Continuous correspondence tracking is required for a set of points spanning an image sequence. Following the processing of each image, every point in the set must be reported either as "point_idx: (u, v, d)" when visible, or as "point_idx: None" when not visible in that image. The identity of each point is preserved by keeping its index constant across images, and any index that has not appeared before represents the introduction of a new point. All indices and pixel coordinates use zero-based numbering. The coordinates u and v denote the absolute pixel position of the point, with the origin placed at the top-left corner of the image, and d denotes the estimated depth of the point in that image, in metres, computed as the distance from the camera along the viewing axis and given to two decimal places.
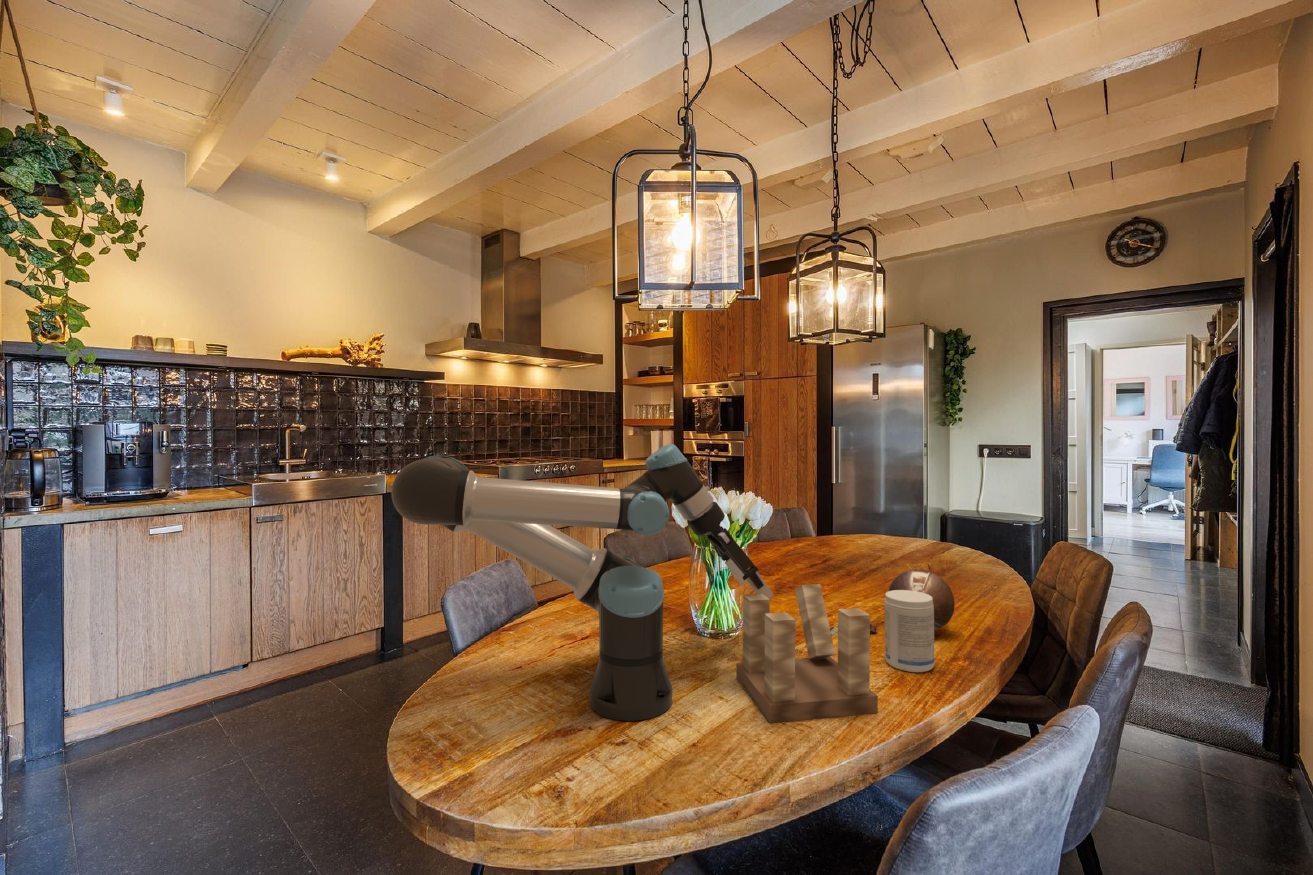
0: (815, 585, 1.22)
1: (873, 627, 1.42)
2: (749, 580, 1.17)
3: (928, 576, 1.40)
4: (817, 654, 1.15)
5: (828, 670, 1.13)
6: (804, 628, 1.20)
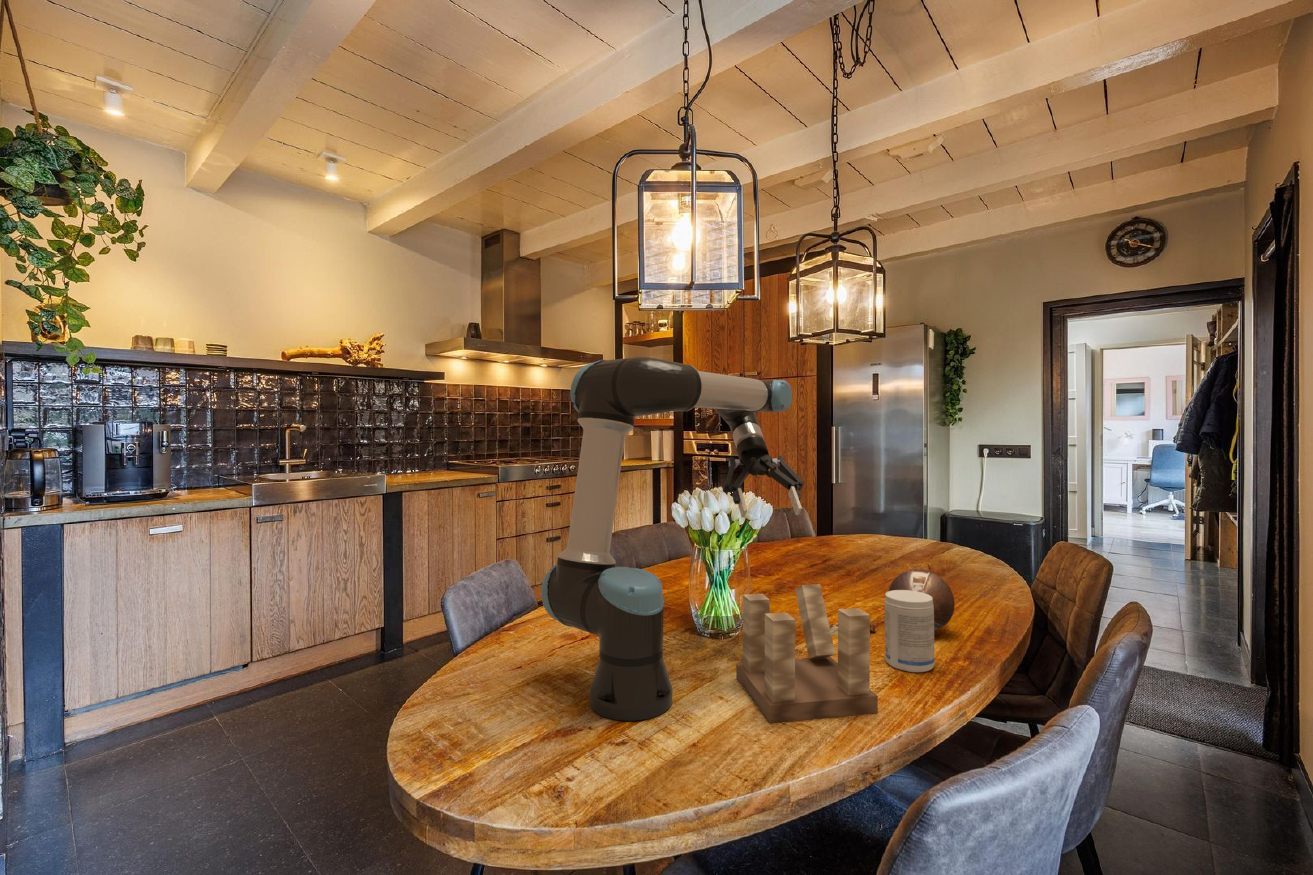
0: (815, 585, 1.22)
1: (872, 626, 1.43)
2: None
3: (928, 576, 1.40)
4: (817, 654, 1.15)
5: (828, 670, 1.13)
6: (804, 628, 1.20)
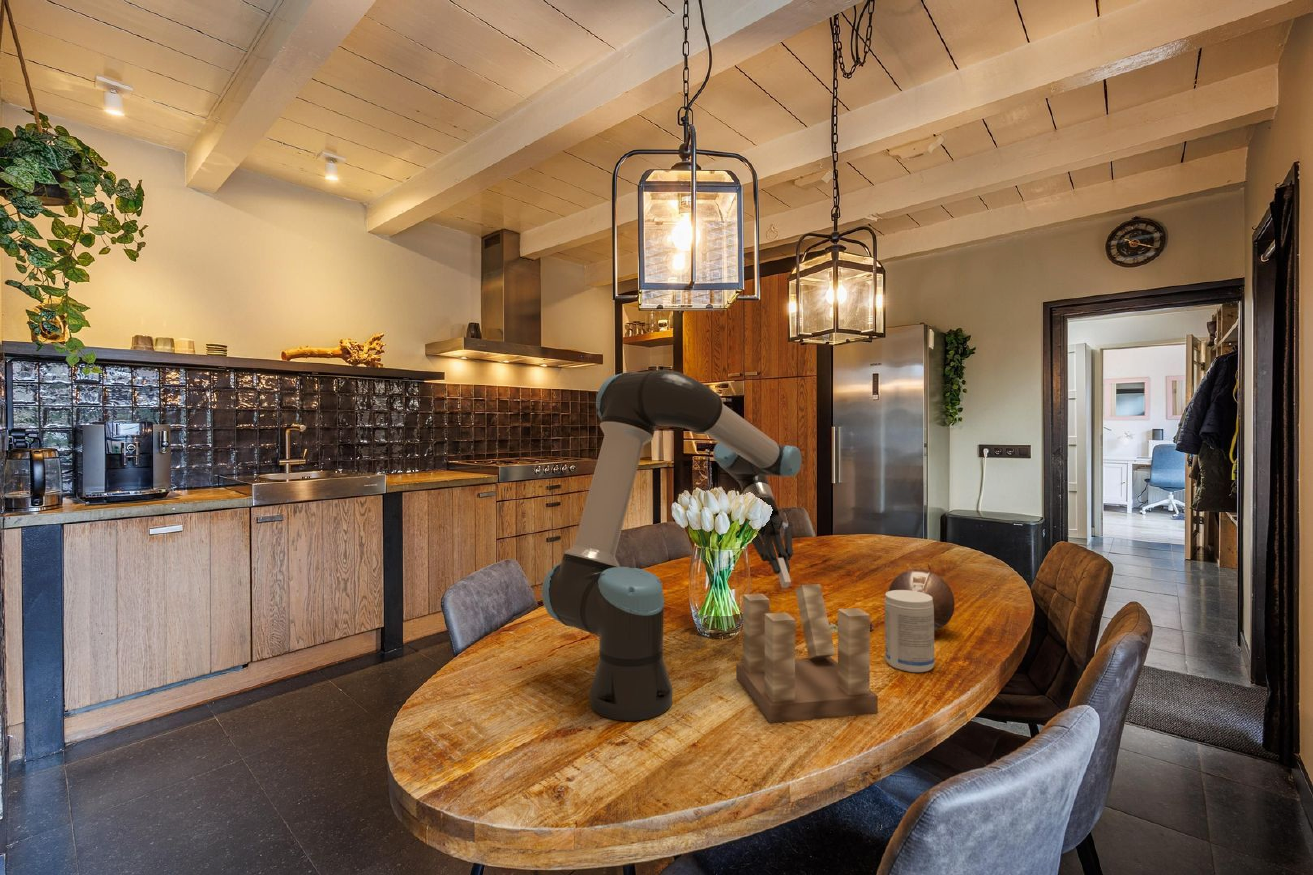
0: (815, 585, 1.22)
1: None
2: None
3: (928, 576, 1.40)
4: (817, 654, 1.15)
5: (828, 670, 1.13)
6: (804, 628, 1.20)
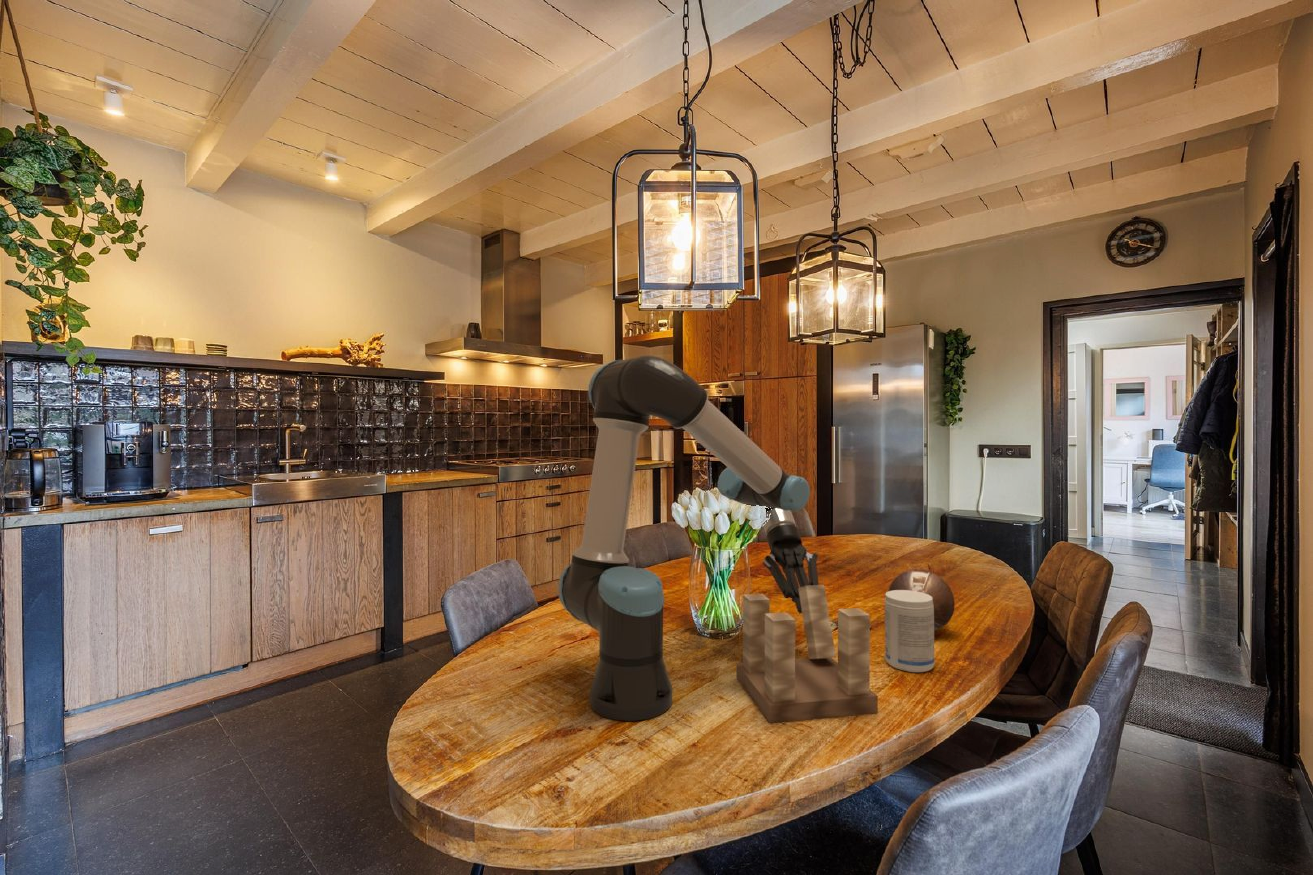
0: (819, 586, 1.20)
1: None
2: None
3: (928, 576, 1.40)
4: (818, 657, 1.15)
5: (828, 670, 1.13)
6: (806, 628, 1.20)
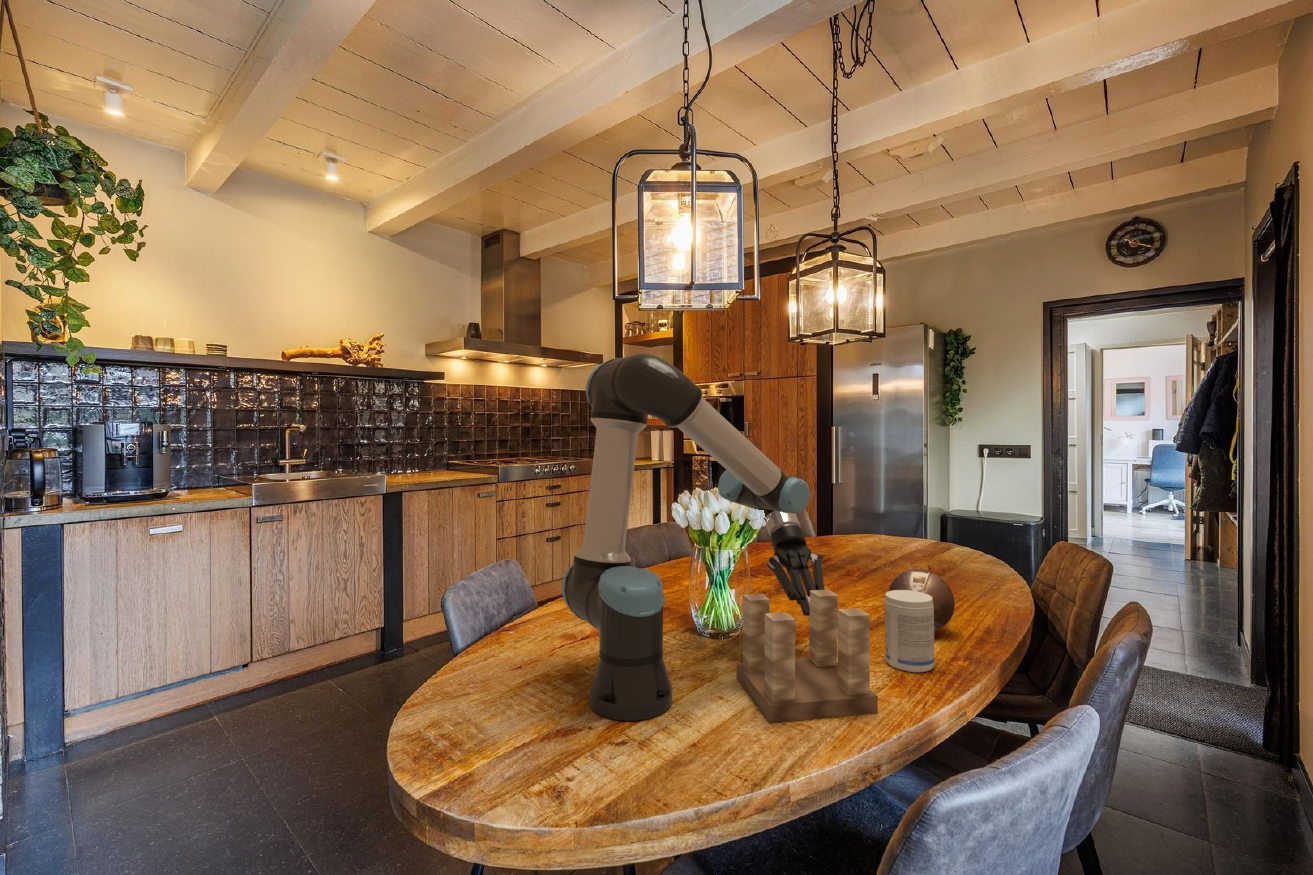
0: (832, 597, 1.14)
1: None
2: None
3: (928, 576, 1.40)
4: (818, 666, 1.14)
5: (828, 670, 1.13)
6: (811, 632, 1.17)
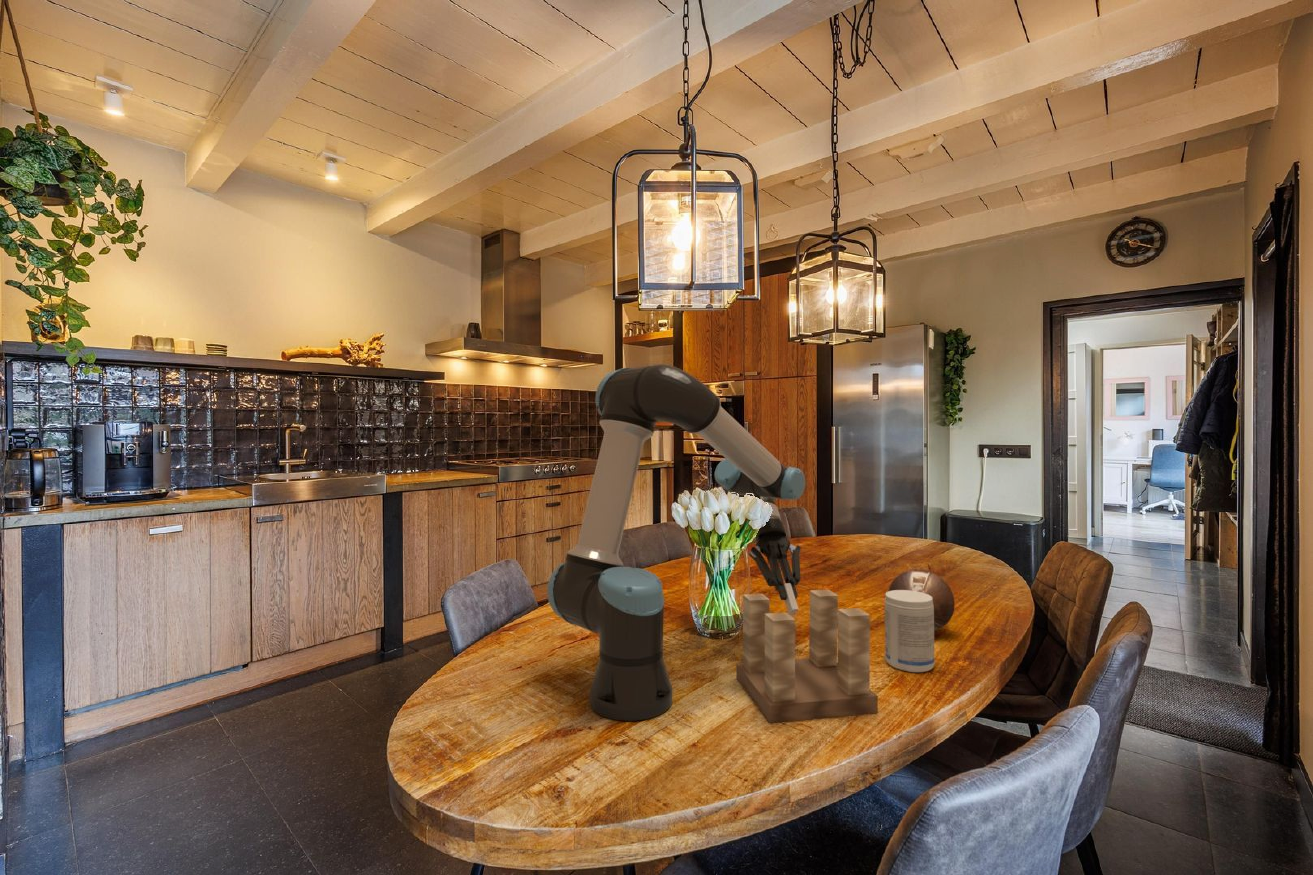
0: (832, 597, 1.14)
1: None
2: None
3: (928, 576, 1.40)
4: (818, 666, 1.14)
5: (828, 670, 1.13)
6: (811, 632, 1.17)
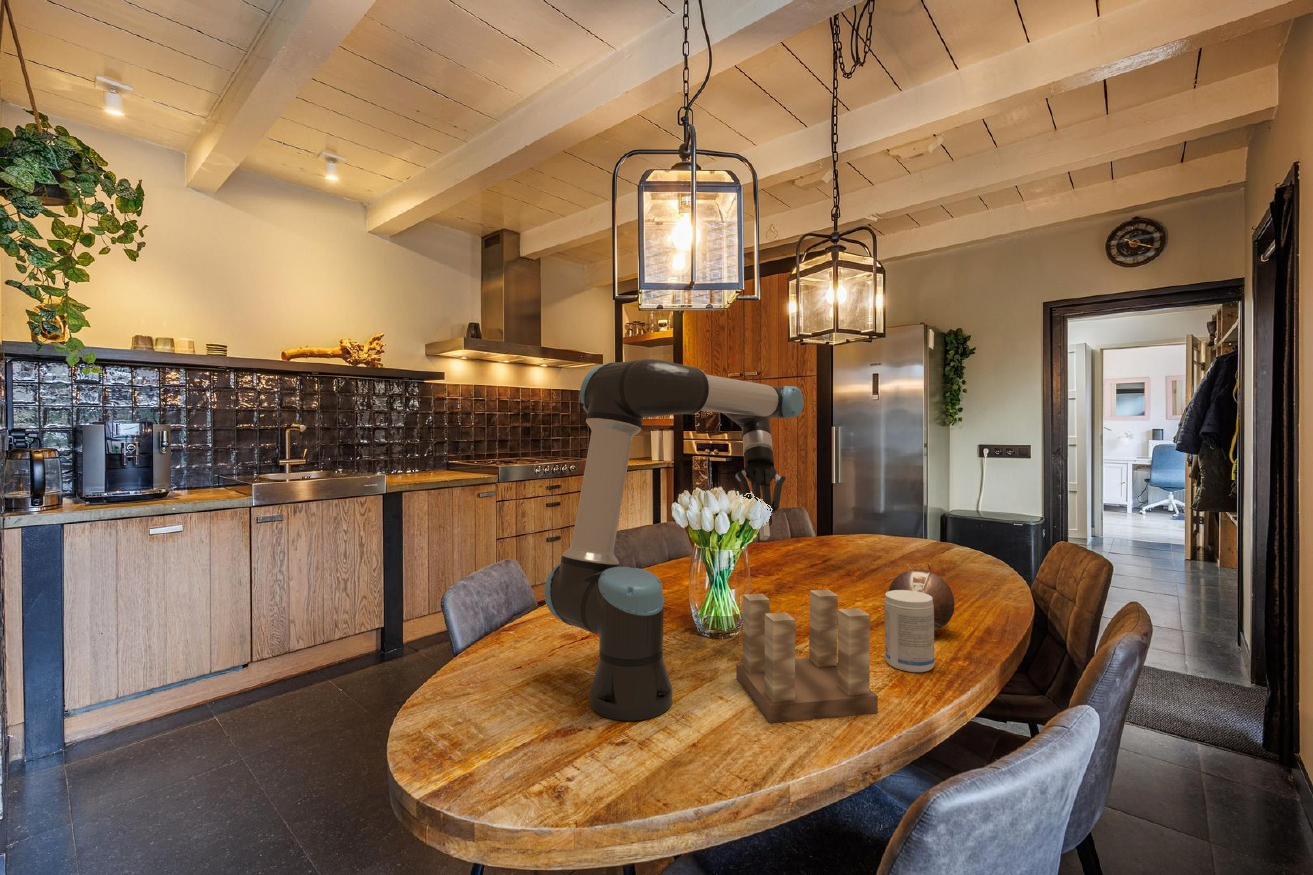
0: (832, 597, 1.14)
1: None
2: None
3: (928, 576, 1.40)
4: (818, 666, 1.14)
5: (828, 670, 1.13)
6: (811, 632, 1.17)
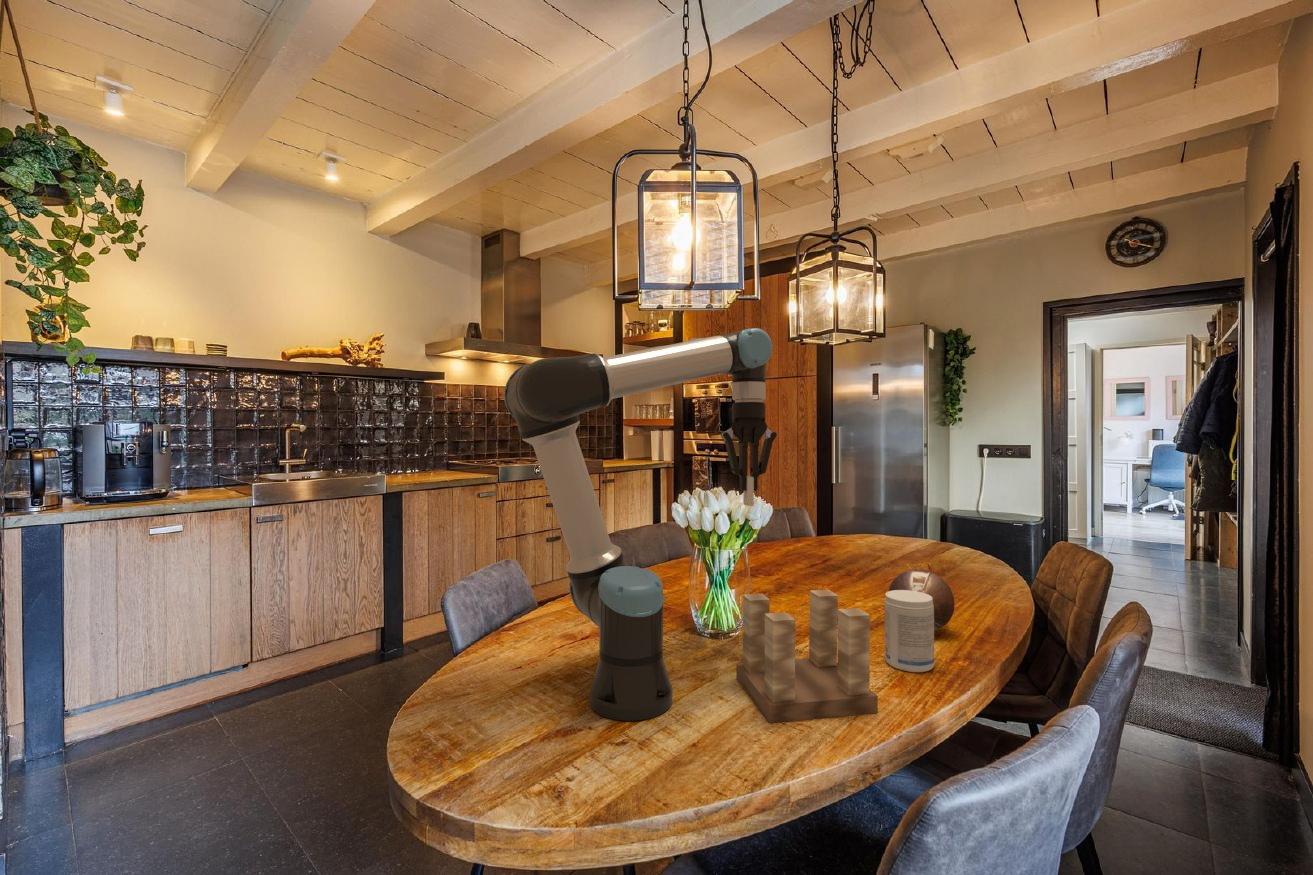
0: (832, 597, 1.14)
1: None
2: None
3: (928, 576, 1.40)
4: (818, 666, 1.14)
5: (828, 670, 1.13)
6: (811, 632, 1.17)
